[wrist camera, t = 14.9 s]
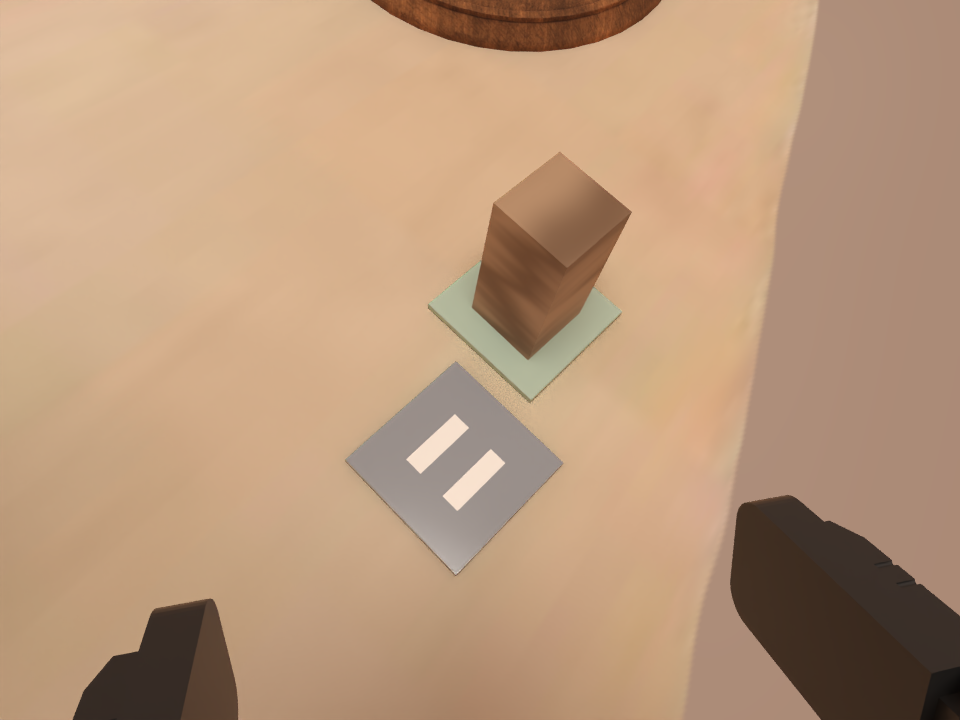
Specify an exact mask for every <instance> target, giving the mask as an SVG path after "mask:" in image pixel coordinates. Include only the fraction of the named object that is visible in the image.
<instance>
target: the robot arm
mask: <svg viewBox="0 0 960 720" xmlns="http://www.w3.org/2000/svg"><path fill="white" fill-rule="evenodd" d="M730 585H731V593H732V598H733V601H734V604H735V607H736V609H737V612H738V614H739V616H740V617H741V619H742V621H743V622H744V623H745V625H746V626H747V627H748V628H749V630H750V631H751V632H752V633H753V635H754V636H755V637H756V638H757V640H758V641H759V642H760V643H761V645H762V646H763V647H764V649H765V650H766V651H767V652H768V653H769V655H770V656H771V657H772V659H773V660H774V661H775V662H776V664H777V665H778V666H779V667H780V669H781V670H782V671H783V672H784V674H785V675H786V676H787V677H788V679H789V680H790V681H791V682H792V684H793V685H794V686H795V687H796V689H797V690H798V691H799V692H800V693H801V695H802V696H803V697H804V699H805V700H806V701H807V702H808V704H809V705H810V706H811V707H812V709H813V710H814V711H815V712H816V714H817V715H818V716H819V717H820V719H821V720H960V616H959V615H958V614H957V613H955V612H954V611H953V610H952V609H951V608H949V607H948V606H947V605H946V604H944V603H943V602H942V601H941V600H940V599H938V598H937V597H936V596H935V595H934V594H932V593H931V592H930V591H929V590H927V589H926V588H925V587H924V586H923V585H921V584H918V585H917V584H916V583H915V579H914V578H913V577H912V576H910V575H909V574H908V573H907V572H906V571H904V570H903V569H902V568H900V567H899V566H898V565H893V564H892V560H891V559H890V558H888V557H887V556H886V555H885V554H884V553H882V552H881V551H880V550H879V549H877V548H876V547H875V546H874V545H873V544H871V543H870V542H869V541H868V540H867V539H865V538H864V537H862V536H860V535H858V534H855V533H854V532H851V531H849V530H847V529H845V528H843V527H841V526H839V525H837V524H835V523H833V522H831V521H826V522H824V521H823V520H821V519H820V518H819V517H818V516H817V515H815V514H814V513H813V512H812V511H811V510H809V508H807V507H806V506H805V505H804V504H803V503H801V502H800V501H799V500H798V499H796V498H795V497H793V496H789V495H785V496H779V497H774V498H768V499H764V500H758V501H752V502H747V503H744V504H742V505H741V506H740V508H739V509H738V513H737V519H736V530H735V539H734V550H733V559H732V569H731V580H730ZM73 720H238V699H237V689H236V683H235V678H234V674H233V670H232V666H231V662H230V658H229V654H228V650H227V646H226V642H225V638H224V634H223V630H222V626H221V622H220V618H219V614H218V610H217V607H216V604H215V602H214V601H213V599H205V600H200V601H194V602H189V603H183V604H178V605H172V606H167V607H161V608H156V609H154V610H153V611H152V613H151V615H150V618H149V621H148V624H147V627H146V630H145V633H144V636H143V639H142V643H141V646H140V649H139V651H138V652H133V653H127V654H122V655H117V656H113V657H112V658H111V659H110V661H109V662H108V663H107V664H106V665H105V666H104V668H103V669H102V670H101V671H100V672H99V674H98V675H97V676H96V677H95V678H94V679H93V681H92V682H91V683H90V684H89V685H88V687H87V688H86V689H85V690H84V692H83V694H82V697H81V700H80V702H79V705H78V707H77V710H76V712H75V715H74V717H73Z"/></svg>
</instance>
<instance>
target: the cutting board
mask: <svg viewBox="0 0 960 720" xmlns="http://www.w3.org/2000/svg"><path fill="white" fill-rule="evenodd" d="M371 1H373V2H374V3H376V4H377V5H379V6H380V7H381V8H383V9H384V10H386V11H387V12H389V13H390V14H391V15H393V16H395V17H397V18H399V19H401V20H403V21H405V22H407V23H409V24H411V25H413V26H415V27H417V28H419V29H421V30H424V31H427V32H429V33H432V34H435V35H437V36H440V37H443V38H445V39H448V40H452V41H456V42H460V43H464V44H468V45H472V46H476V47H482V48H489V49H497V50H505V51H531V52H543V51H552V50H561V49H570V48H575V47H579V46H583V45H587V44H591V43H595V42H599V41H601V40H604V39H606V38H608V37H611V36H613V35H616V34H618V33H621V32H623V31H624V30H626V29H628V28H629V27H631V26H632V25H634V24H636V23H637V22H639V21H640V20H642V19H643V18H644V17H645V16H646V15H647V14H649V13H650V12H651V11H652V10H653V9H654V8H655V7H656V6H657V5H658V4H659V2H660V1H661V0H371Z"/></svg>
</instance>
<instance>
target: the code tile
mask: <svg viewBox="0 0 960 720" xmlns="http://www.w3.org/2000/svg"><path fill="white" fill-rule="evenodd" d="M345 461H346V462H347V463H348V464H349V466H350V467H351V468H352V469H353V470H354V471H355V472H356V473H357V474H358V475H359V476H360V477H361V478H362V479H363V480H364V481H365V482H366V483H367V484H368V485H369V486H370V487H371V488H372V489H373V490H374V491H375V493H376V494H377V495H378V496H379V497H380V498H381V499H382V500H383V501H384V502H385V503H386V504H387V505H388V506H389V507H390V508H391V509H392V510H393V511H394V512H395V513H396V514H397V515H398V516H399V517H400V518H401V520H402V521H403V522H404V523H405V524H406V525H407V526H408V527H409V528H410V529H411V530H412V531H413V532H414V533H415V534H416V535H417V536H418V537H419V538H420V539H421V540H422V541H423V542H424V543H425V544H426V545H427V547H428V548H429V549H430V550H431V551H432V552H433V553H434V554H435V555H436V556H437V557H438V558H439V559H440V560H441V561H442V562H443V563H444V564H445V565H446V566H447V567H448V568H449V569H450V570H451V571H452V572H453V574H454V575H455V576H456V575H457V574H458V573H459V572H460V571H461V570H462V569H463V568H464V567H465V566H466V565H467V564H468V562H469V561H470V560H471V559H472V558H473V557H474V556H475V555H476V554H477V553H478V552H479V551H480V550H481V549H482V548H483V547H484V546H485V545H486V544H487V543H488V542H489V540H490V539H491V538H492V537H493V536H494V535H495V534H496V533H497V532H498V531H499V530H500V529H501V528H502V527H503V526H504V525H505V524H506V523H507V522H508V521H509V520H510V518H511V517H512V516H513V515H514V514H515V513H516V512H517V511H518V510H519V509H520V508H521V507H522V506H523V505H524V504H525V503H526V502H527V501H528V500H529V499H530V498H531V496H532V495H533V494H534V493H535V492H536V491H537V490H538V489H539V488H540V487H541V486H542V485H543V484H544V483H545V482H546V481H547V480H548V479H549V478H550V477H551V476H552V474H553V473H554V472H555V471H556V470H557V469H558V468H559V467H560V466H561V465H562V464H563V462H562V461H561V460H560V459H559V458H558V457H557V456H556V455H555V454H554V453H552V452H551V451H550V450H549V449H548V448H547V447H546V446H545V445H544V444H543V443H542V442H541V441H540V440H539V439H538V438H537V437H536V436H534V435H533V434H532V433H531V432H530V431H529V430H528V429H527V428H526V427H525V426H524V425H523V424H522V423H521V422H520V421H519V420H518V419H517V418H515V417H514V416H513V415H512V414H511V413H510V412H509V411H508V410H507V409H506V408H505V407H504V406H503V405H502V404H501V403H500V402H499V401H497V400H496V399H495V398H494V397H493V396H492V395H491V394H490V393H489V392H488V391H487V390H486V389H485V388H484V387H483V386H482V385H481V384H479V383H478V382H477V381H476V380H475V379H474V378H473V377H472V376H471V375H470V374H469V373H468V372H467V371H466V370H465V369H464V368H463V367H462V366H460V365H459V364H458V363H457V362H455V363H453V364H452V365H451V366H450V367H449V368H448V369H447V370H446V371H444V372H443V373H442V374H441V375H440V376H439V377H438V378H437V379H435V380H434V381H433V382H432V383H431V384H430V385H429V386H428V387H426V388H425V389H424V390H423V391H422V392H421V393H420V394H418V395H417V396H416V397H415V398H414V399H413V400H412V401H411V402H409V403H408V404H407V405H406V406H405V407H404V408H403V409H402V410H400V411H399V412H398V413H397V414H396V415H395V416H394V417H393V418H391V419H390V420H389V421H388V422H387V423H386V424H385V425H384V426H382V427H381V428H380V429H379V430H378V431H377V432H376V433H375V434H373V435H372V436H371V437H370V438H369V439H368V440H367V441H366V442H364V443H363V444H362V445H361V446H360V447H359V448H358V449H357V450H355V451H354V452H353V453H352V454H351V455H350V456H349V457H348V458H346V459H345Z"/></svg>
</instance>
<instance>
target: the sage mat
mask: <svg viewBox="0 0 960 720" xmlns="http://www.w3.org/2000/svg"><path fill="white" fill-rule="evenodd" d="M481 261H482V260H481ZM481 261H480V262H478V263H477V264H476V265H475V266H474V267H472V268H471V269H470V270H469V271H468V272H466V273H465V274H464V275H463V276H462V277H460V278H459V279H458V280H457V281H455V282H454V283H453V284H452V285H451V286H449V287H448V288H447V289H446V290H445V291H443V292H442V293H441V294H440V295H439V296H437V297H436V298H435V299H434V300H433V301H431V302H430V303H429V304H428V308H429V309H430V310H431V311H432V312H433V313H434V314H435V315H436V316H437V317H439V318H440V319H441V320H442V321H443V322H444V323H445V324H446V325H447V326H448V327H449V328H450V329H451V330H452V331H453V332H455V333H456V334H457V335H458V336H459V337H460V338H461V339H462V340H463V341H464V342H465V343H466V344H467V345H468V346H470V347H471V348H472V349H473V350H474V351H475V352H476V353H477V354H478V355H479V356H480V357H481V358H482V359H483V360H485V361H486V362H487V363H488V364H489V365H490V366H491V367H492V368H493V369H494V370H495V371H496V372H497V373H498V374H500V375H501V376H502V377H503V378H504V379H505V380H506V381H507V382H508V383H509V384H510V385H511V386H512V387H513V388H515V389H516V390H517V391H518V392H519V393H520V394H521V395H522V396H523V397H524V398H525V399H526V400H527V401H528V402H531V401H532V400H533V399H534V398H535V397H536V396H537V395H538V394H539V393H540V392H541V391H542V390H543V389H544V388H545V387H547V386H548V385H549V384H550V383H551V382H552V381H553V380H554V379H555V378H556V377H557V376H558V375H559V374H560V373H561V372H562V371H563V370H564V369H565V368H566V367H567V366H568V365H569V364H570V363H571V362H572V361H573V360H574V359H575V358H576V357H577V356H578V355H579V354H580V353H581V352H583V351H584V350H585V349H586V348H587V347H588V346H589V345H590V344H591V343H592V342H593V341H594V340H595V339H596V338H597V337H598V336H599V335H600V334H601V333H602V332H603V331H604V330H605V329H606V328H607V327H608V326H609V325H610V324H611V323H612V322H613V321H614V320H615V319H616V318H617V317H619V316H620V314H621V313H622V311H621V310H620V309H619V308H618V307H616V306H615V305H614V304H613V303H612V302H611V301H609V300H608V299H607V298H606V297H605V296H604V295H603V294H601V293H600V292H599V291H598V290H597V289H596V288H594V287H593V288H592V290H591V292H590V294H589V296H588V298H587V300H586V302H585V304H584V306H583V308H582V310H581V312H580V313H579V314H578V315H577V316H576V317H575V318H574V319H573V320H572V321H570V322H569V323H568V324H567V325H566V326H565V327H564V328H563V329H562V330H561V331H559V332H558V333H557V334H556V335H555V336H554V337H553V338H552V339H551V340H550V341H548V342H547V343H546V344H545V345H544V346H543V347H542V348H541V349H540V350H539V351H537V352H536V353H535V354H534V355H533V356H532V357H531V358H530V359H529V360H527V359H526V358H525V357H524V356H523V355H522V354H521V353H520V352H518V351H517V350H516V349H515V348H514V347H513V346H512V345H511V344H510V343H509V342H508V341H507V340H506V339H505V338H504V337H503V336H501V335H500V334H499V333H498V332H497V331H496V330H495V329H494V328H493V327H492V326H491V325H490V324H489V323H488V322H487V321H485V320H484V319H483V318H482V317H481V316H480V315H479V314H478V313H477V312H476V311H475V310H474V309H473V308H472V304H473V299H474V294H475V290H476V285H477V280H478V275H479V270H480V266H481Z"/></svg>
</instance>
